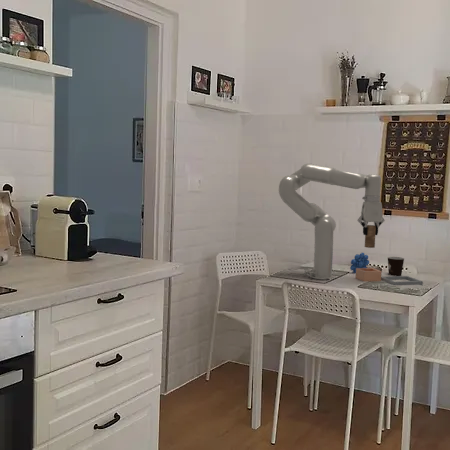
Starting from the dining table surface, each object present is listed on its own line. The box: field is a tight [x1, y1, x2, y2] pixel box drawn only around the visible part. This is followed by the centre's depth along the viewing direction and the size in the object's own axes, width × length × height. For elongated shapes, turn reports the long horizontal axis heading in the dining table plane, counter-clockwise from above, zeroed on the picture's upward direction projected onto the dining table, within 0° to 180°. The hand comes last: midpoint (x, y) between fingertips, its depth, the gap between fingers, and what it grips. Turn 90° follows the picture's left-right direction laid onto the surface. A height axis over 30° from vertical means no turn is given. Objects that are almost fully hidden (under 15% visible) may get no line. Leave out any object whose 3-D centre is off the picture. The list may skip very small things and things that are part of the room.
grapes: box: [349, 252, 370, 274], centre depth 337 cm, size 12×7×12 cm, turn 111°
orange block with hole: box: [355, 267, 382, 283], centre depth 319 cm, size 9×9×6 cm
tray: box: [381, 275, 424, 286], centre depth 315 cm, size 16×14×2 cm
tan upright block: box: [364, 224, 376, 249], centre depth 316 cm, size 5×5×11 cm
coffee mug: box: [387, 256, 405, 276], centre depth 335 cm, size 12×9×10 cm
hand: (370, 234), depth 316 cm, fingers closed on tan upright block, 4 cm apart
